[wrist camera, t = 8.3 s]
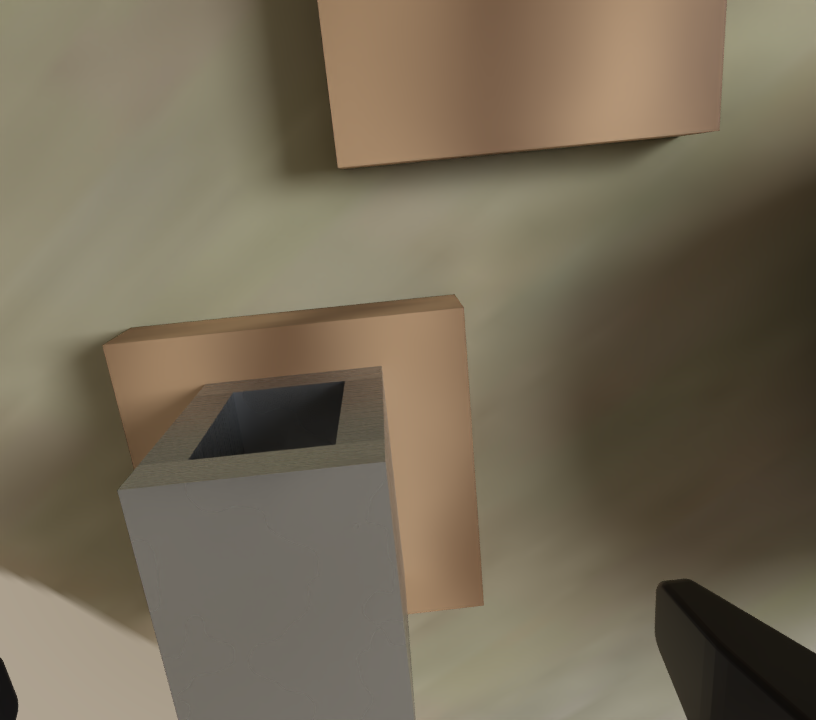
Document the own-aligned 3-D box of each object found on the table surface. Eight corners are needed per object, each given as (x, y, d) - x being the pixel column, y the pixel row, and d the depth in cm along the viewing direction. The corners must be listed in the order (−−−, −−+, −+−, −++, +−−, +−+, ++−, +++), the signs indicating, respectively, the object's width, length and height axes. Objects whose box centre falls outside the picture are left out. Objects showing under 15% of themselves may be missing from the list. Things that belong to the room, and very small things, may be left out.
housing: (381, 365, 17) (385, 461, 11) (404, 573, 19) (417, 745, 13) (205, 383, 17) (117, 490, 11) (247, 591, 19) (191, 771, 13)
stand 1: (454, 294, 18) (463, 307, 16) (474, 567, 21) (483, 605, 19) (131, 327, 18) (102, 345, 16) (196, 599, 21) (177, 640, 19)
